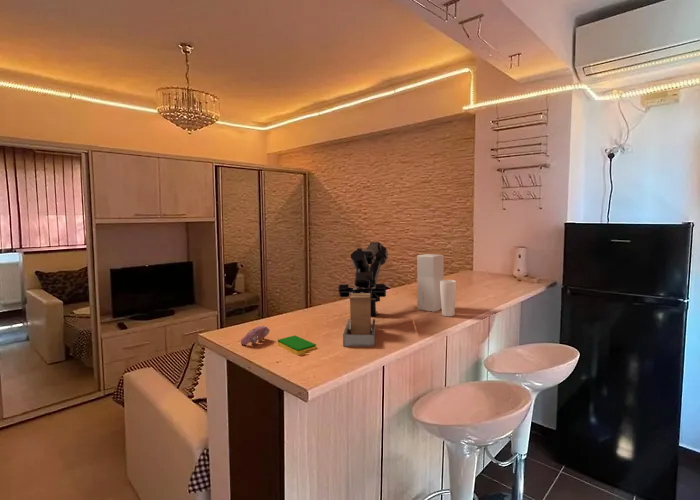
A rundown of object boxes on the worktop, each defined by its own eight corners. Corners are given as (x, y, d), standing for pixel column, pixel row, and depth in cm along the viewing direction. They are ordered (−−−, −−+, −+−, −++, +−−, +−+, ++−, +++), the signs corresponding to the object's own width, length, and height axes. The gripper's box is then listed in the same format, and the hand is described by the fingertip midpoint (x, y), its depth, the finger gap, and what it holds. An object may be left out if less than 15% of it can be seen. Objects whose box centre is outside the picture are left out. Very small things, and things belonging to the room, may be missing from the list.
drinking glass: (456, 317, 164) (456, 282, 162) (440, 317, 165) (440, 282, 164) (455, 313, 170) (455, 279, 169) (439, 313, 172) (439, 279, 170)
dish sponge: (298, 356, 123) (297, 349, 123) (277, 346, 134) (277, 339, 134) (316, 351, 128) (316, 344, 127) (295, 341, 138) (295, 335, 138)
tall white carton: (417, 309, 180) (416, 255, 178) (427, 305, 186) (427, 253, 184) (434, 312, 174) (433, 256, 172) (444, 308, 180) (443, 254, 178)
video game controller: (247, 351, 133) (253, 334, 131) (238, 343, 135) (244, 327, 133) (267, 342, 141) (273, 327, 139) (259, 335, 143) (264, 320, 141)
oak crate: (352, 329, 147) (351, 293, 146) (371, 330, 146) (370, 293, 145) (350, 335, 140) (349, 297, 138) (370, 335, 139) (369, 297, 138)
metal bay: (348, 330, 148) (348, 319, 148) (375, 331, 147) (375, 319, 147) (343, 348, 128) (342, 335, 128) (374, 348, 128) (373, 335, 127)
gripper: (338, 264, 155) (335, 297, 145) (385, 263, 153) (386, 297, 143) (340, 280, 163) (338, 312, 153) (385, 280, 161) (386, 312, 151)
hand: (361, 308), depth 150 cm, fingers closed
